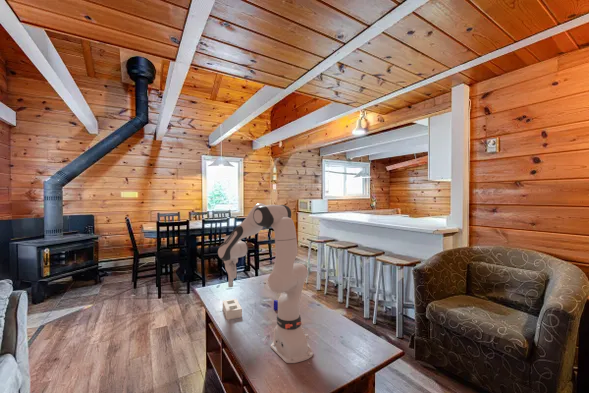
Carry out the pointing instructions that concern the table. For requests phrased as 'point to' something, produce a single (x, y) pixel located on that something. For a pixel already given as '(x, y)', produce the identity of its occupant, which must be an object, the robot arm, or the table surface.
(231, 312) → the hole block
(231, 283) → the peg
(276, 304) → the cable clip
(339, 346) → the table surface
